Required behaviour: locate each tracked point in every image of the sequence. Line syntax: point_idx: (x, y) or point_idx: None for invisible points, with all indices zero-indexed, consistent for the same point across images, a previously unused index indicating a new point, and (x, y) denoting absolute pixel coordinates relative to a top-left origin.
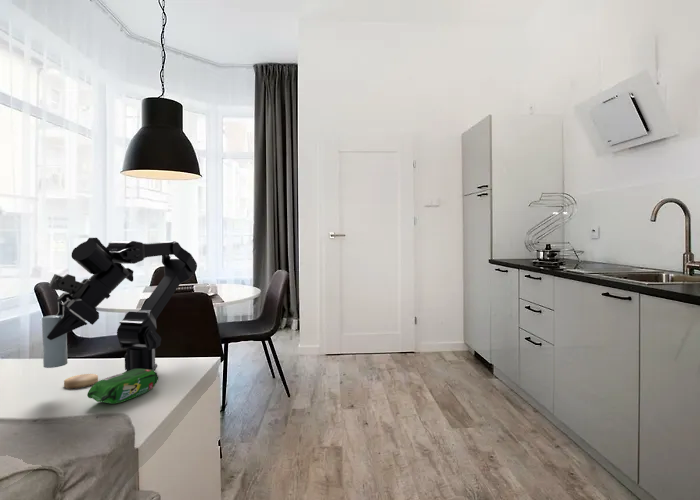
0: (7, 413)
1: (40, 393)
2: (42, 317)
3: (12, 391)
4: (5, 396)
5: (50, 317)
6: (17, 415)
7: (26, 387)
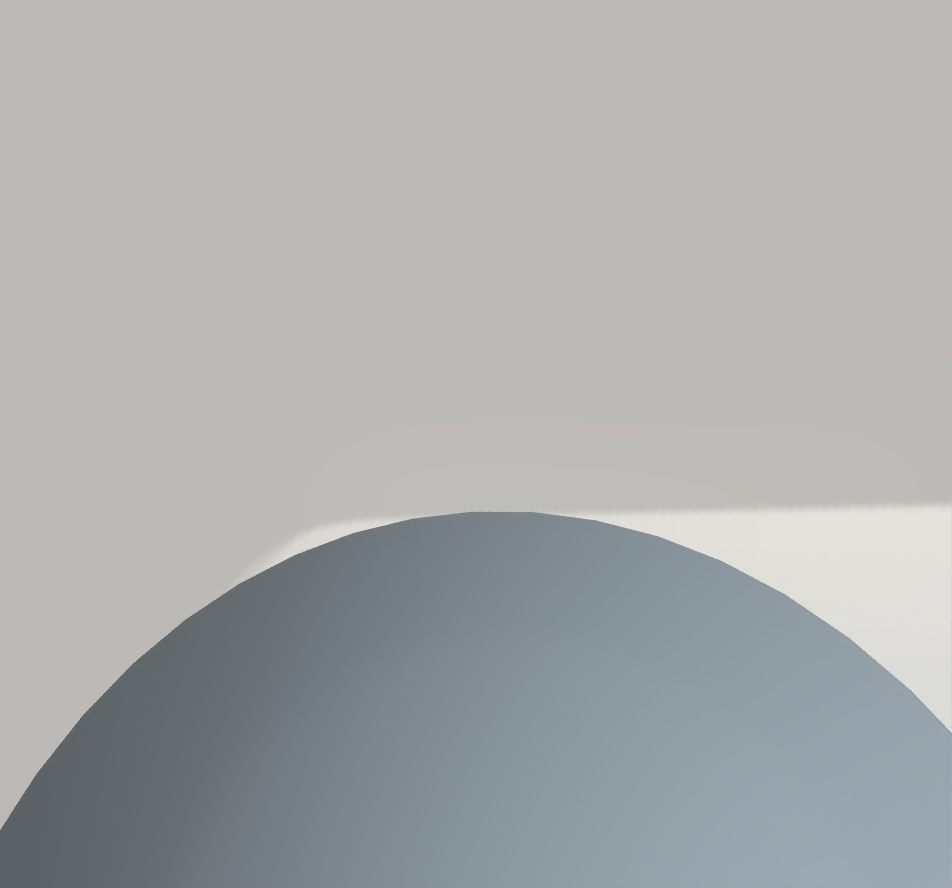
0: (362, 529)
1: None
2: (592, 535)
3: (874, 549)
4: (761, 510)
5: (294, 867)
6: None
7: (943, 644)
